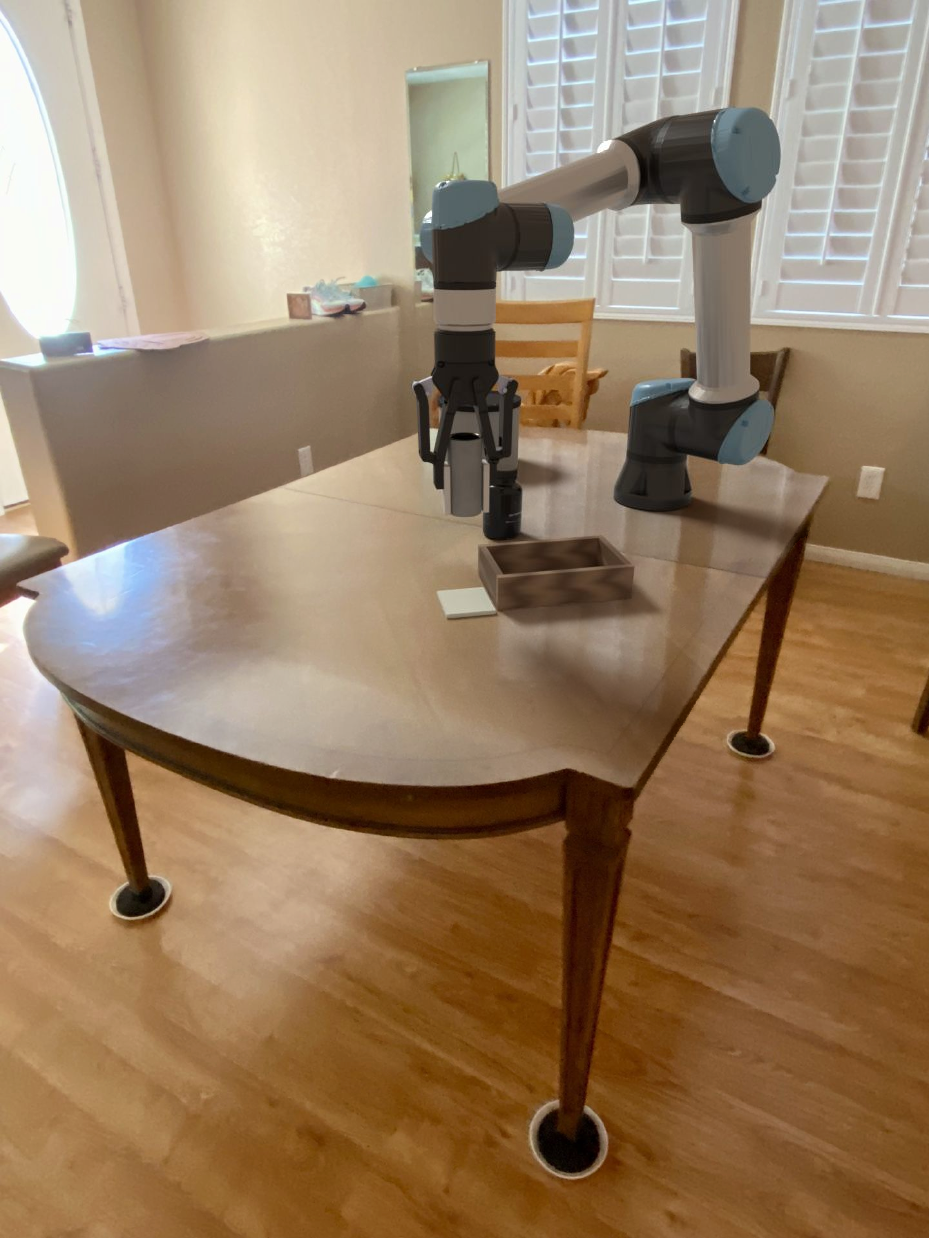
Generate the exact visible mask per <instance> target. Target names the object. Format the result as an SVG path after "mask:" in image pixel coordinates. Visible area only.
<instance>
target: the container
mask: <svg viewBox="0 0 929 1238" xmlns="http://www.w3.org/2000/svg"><path fill="white" fill-rule="evenodd" d="M443 400H444V397H443V396H442V395H441V394H440V395H439V396H437V398H436V405H437V407H438V424H439V423H440V418H441V413H442V404H443ZM499 400H500V393H499V392H498V390H494V389H492V390H491V391H490V393H489V394H488V396H487V397H486V402H487V406H488V414H489V419H490V423H491V428H492V433H493V437H494V442H495V447H496V448H497V447H498V435H499ZM521 405H522V398H521V396H520V395H518V394H517V393H515V396H514V399H513V421H512V449H511V456H510V457H508V458H503V459H500V460H499V463H498V464H508V465H513V466H517V465H518V466H519V463H520V461H519V432H520V431H519V430H520V407H521ZM460 432H470V433H477V434H480V431H479V426H478V422H477V417H476V413H475V409H474V406H471V405H467V404H466V405H463V406H457V411H456V414H455V416H454V421H453V425H452V430H451V434H453V433H460ZM482 459H485V460H486V457H485V453H484V449H483V444H482ZM445 462H447V463H448V451H447V453H446V458H445ZM518 466H517V467H518Z"/></svg>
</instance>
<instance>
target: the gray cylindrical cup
mask: <svg viewBox="0 0 929 1238" xmlns="http://www.w3.org/2000/svg"><path fill="white" fill-rule="evenodd" d="M447 451H448V465H449V466H450V503H451V515H450V516H454V517H456V518H457V517H458V518H472V517H477V516H479V515H480V514H482V513H483V511H482V436H481V435H480V434H477V433H470V432H460V433H453V434H451V435H450V439H449V444H448V448H447Z"/></svg>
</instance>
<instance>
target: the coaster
mask: <svg viewBox="0 0 929 1238" xmlns="http://www.w3.org/2000/svg"><path fill="white" fill-rule="evenodd" d="M436 596H437V598H438V601H439V604H440V605H441V606H440V607H441V608H442V612H443V613H444V616H445V619H454V618H455V619H457V618H466V617H477V616H478V617H479V616H487V615H489V616H490V615H496V613H497V609H496V607H495V605H494V603H493V601H492V599H491V598H490V596H489V594H488V592H487V590H486V588H485V587H484V586H480V587H479V586H478V587H468V588H455V589H443V590H436Z"/></svg>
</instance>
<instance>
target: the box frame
mask: <svg viewBox="0 0 929 1238" xmlns="http://www.w3.org/2000/svg"><path fill="white" fill-rule="evenodd" d="M477 546H478V547H477V575H478V577H479V579H480V581H481V583H482V584H483V587H484V589H485V591H486V593H487V595H488V597H489V598H490V600H491V602H492V604H493V606H494V608H495V610H496V611H506V610H508V611H509V610H517V609H529V608H540V607H549V606H550V607H553V606H562V605H572V604H573V605H574V604H584V603H594V602H604V601H605V602H606V601H607V602H608V601H615V600H616V601H617V600H618V601H619V600H626V599H627V600H628V599H629V600H630V599H632V596H633V595H632V594H633V585H634V575H635V566H634V564H633V563H631V561H630V560H628V559H627V558H626V557H625V556H624V555H623V554H622V553H621V552H620V551H619V550H618V549H617V548H616V547H615V546H614V545H613V543H611V542H610V541H609V540H608V539H607V538H606V537H605V536H604V535H602V534H600V535H590V536H589V535H588V536H575V537H563V538H562V537H561V538H548V539H537V540H523V541H509V542H497V543H483V544H477Z"/></svg>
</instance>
